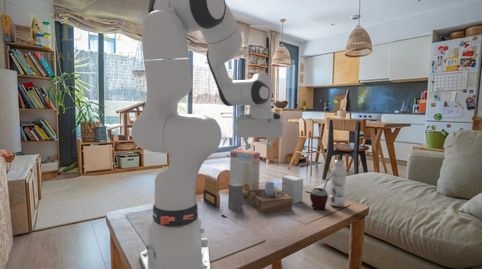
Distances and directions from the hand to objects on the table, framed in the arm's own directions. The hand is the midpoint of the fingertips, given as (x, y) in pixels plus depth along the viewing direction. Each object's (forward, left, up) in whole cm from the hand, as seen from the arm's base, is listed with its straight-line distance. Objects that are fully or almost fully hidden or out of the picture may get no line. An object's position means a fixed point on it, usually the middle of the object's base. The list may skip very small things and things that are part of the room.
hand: (258, 148), depth 108 cm
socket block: (0, -6, -25) cm, 25 cm away
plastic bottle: (-9, -34, -25) cm, 43 cm away
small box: (+3, -19, -25) cm, 31 cm away
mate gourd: (-9, -25, -25) cm, 36 cm away
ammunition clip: (+9, +17, -25) cm, 32 cm away
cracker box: (+17, -1, -25) cm, 30 cm away
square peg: (+1, +9, -25) cm, 26 cm away
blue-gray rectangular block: (0, -6, -25) cm, 25 cm away
